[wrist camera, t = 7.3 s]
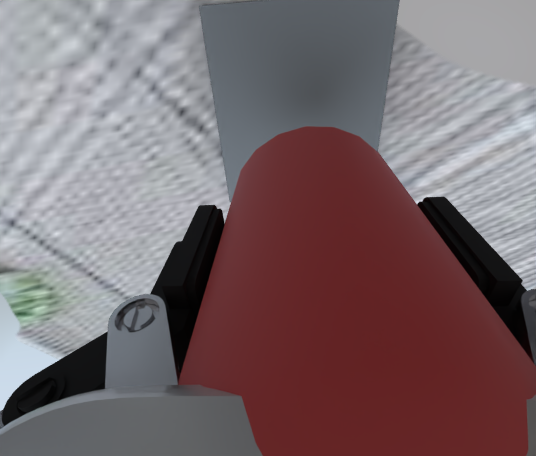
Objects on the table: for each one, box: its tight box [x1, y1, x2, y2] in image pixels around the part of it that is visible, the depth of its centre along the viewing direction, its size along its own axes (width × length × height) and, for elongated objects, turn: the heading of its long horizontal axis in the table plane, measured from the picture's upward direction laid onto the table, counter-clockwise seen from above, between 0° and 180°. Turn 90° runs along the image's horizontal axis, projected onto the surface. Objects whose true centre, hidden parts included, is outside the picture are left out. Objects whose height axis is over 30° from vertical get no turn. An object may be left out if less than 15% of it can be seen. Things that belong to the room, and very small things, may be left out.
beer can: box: [178, 126, 536, 456], centre depth 8 cm, size 7×7×12 cm
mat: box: [199, 0, 400, 202], centre depth 25 cm, size 16×14×1 cm
